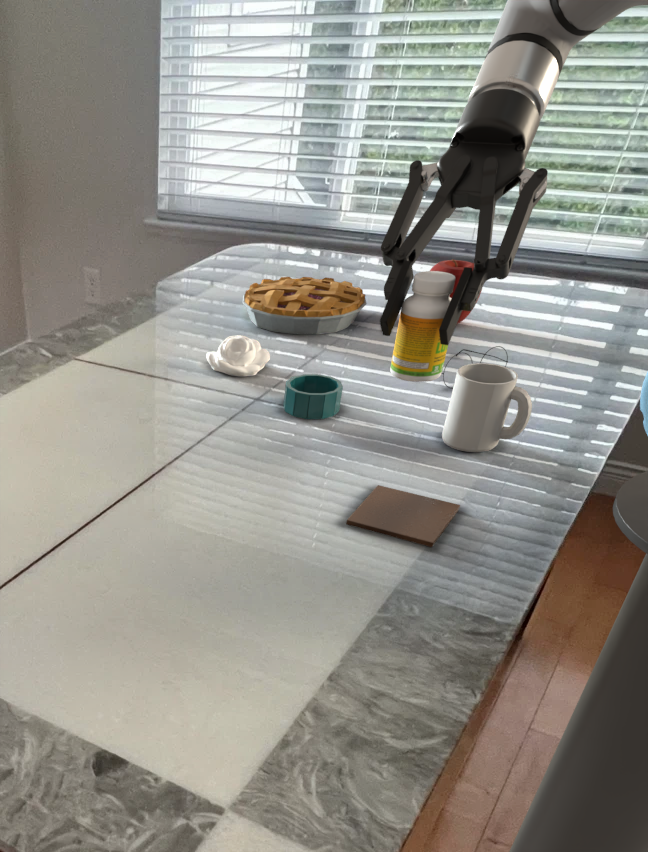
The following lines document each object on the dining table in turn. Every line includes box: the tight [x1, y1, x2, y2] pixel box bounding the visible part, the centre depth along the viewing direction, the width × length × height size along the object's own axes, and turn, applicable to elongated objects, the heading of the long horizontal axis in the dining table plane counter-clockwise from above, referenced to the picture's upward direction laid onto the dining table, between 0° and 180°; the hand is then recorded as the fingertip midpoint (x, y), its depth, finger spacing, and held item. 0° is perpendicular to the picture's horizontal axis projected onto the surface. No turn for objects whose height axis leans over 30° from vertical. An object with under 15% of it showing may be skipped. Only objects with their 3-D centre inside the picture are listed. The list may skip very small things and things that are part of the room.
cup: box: [441, 362, 533, 453], centre depth 108 cm, size 7×10×9 cm
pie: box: [242, 276, 367, 335], centre depth 150 cm, size 22×22×5 cm
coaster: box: [345, 484, 461, 548], centre depth 97 cm, size 10×10×1 cm
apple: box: [429, 258, 483, 325], centre depth 144 cm, size 10×10×10 cm
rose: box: [206, 334, 271, 377], centre depth 133 cm, size 10×4×10 cm
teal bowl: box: [282, 373, 344, 420], centre depth 120 cm, size 8×8×4 cm
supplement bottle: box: [389, 270, 455, 383], centre depth 88 cm, size 5×5×10 cm
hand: (413, 332), depth 85 cm, fingers closed on supplement bottle, 5 cm apart
